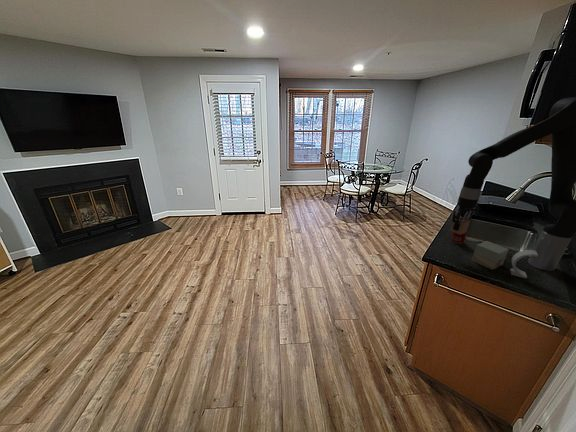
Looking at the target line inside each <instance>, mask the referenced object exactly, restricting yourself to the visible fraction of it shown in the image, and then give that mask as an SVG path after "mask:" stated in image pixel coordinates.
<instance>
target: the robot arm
mask: <svg viewBox="0 0 576 432" xmlns="http://www.w3.org/2000/svg"><path fill="white" fill-rule="evenodd" d="M549 135H550V136H551V178H550V180H551V182H550V186H551V187H550V194H549V198H548V200H549V201H548V205H547V209H548V212H549V215H551V216H553V217H555V218H557V221H556V223H553V224H552V223H548V224H544V227H543V228H542V231H541V233H540V234H539V236H538V239H537V241H536V243H535V245H534V247H533V249H532V250H535V251H536V252H537V254H538V257H535V256H528V257H529V258H528V259H527V264H529V265H530V266H532V267H534V268H536V269H539V270H543V271H547V272H554V271H555V270H556V269H557V267H558V264H559V262H560V261H561V259H562V257H563V256H564V253H565V251H566V249H567V248H568V246H569V244H570V242H571V240H572V239H573V237H574V236H575V235H576V199H574V196H573V193H574V192H573V191H574V186H575V184H576V96H573V97H565V98H562V99H560V100H559V99H558V101H556V102H555V103H554V104H553V105H552V107H550V110H549V117H548V118H546V119H543V120H542V121H540V122H537V123H536V124H533V125H531V126H529V127H525V128H523V129H521V130H517V131H516V132H514V133H512V134H509V135H508V136H506V137H504V138H503V139H501V140H499V141H497V142H495V143H494V144H492V145H489V146H487V147H485V148H483V149H480V150H478V151H476V152H475V153H473V154H472V155H471V156H470V157H469V158H468V162H467V163H468V165H469V166H470V167H471V169H470V171H469V174H467V175H466V176H465V178H464V182H463V184H462V187H461V189H460V192H459V195H458V200H457V202H456V205H457V206H458V209H457V211H456V210H454V211H453V215H452V222H455V224H454V227H453V230H456V231H458V230H459V227H460V223H461V221H462V220H464V219H466V220H470V221H471V219H472V217H473V215H474V212H475V211H476V207H477V205H478V202H479V199H480V196H481V194H482V193H481V191H482V188H483V185H484V182H485V179H486V177H487V176H488V175H489V172H490V171H491V170H492V167H493V163H494V161H495V160H497V159H500V158H501V159H502V158H505V157H508V156H510V155H512V154H514V153H515V152H517V151H519V150H521V149H523V148H525V147H527V146H529V145H531V144H533V143H535V142H536V141H539V140H541V139H543V138H545V137H547V136H549ZM460 217H462V218H460ZM459 219H460V221H459Z"/></svg>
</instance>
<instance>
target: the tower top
mask: <svg viewBox="0 0 576 432" xmlns="http://www.w3.org/2000/svg"><path fill="white" fill-rule="evenodd" d="M508 252H509V248H506V247H504V246H501V245H499V244H496V243H493V242H490V241H488V240H486V241H482V242H481V243H478V244H476V246H475V248H474V251H473V254H474V253H476V254H478V255H480V256H483V257H485V258H487V259H490V260H492V261H494V262H497V261H499V260H501V259H503V258H505V259H506V257H507V255H508Z"/></svg>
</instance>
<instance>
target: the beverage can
mask: <svg viewBox="0 0 576 432" xmlns="http://www.w3.org/2000/svg"><path fill="white" fill-rule="evenodd" d="M460 218H462V217H460ZM466 235H467V232H466V233H464V234H461V235H460V234H457V233H455V232H452V237H451V241H452V242H453V243H454V244H460V245H461V244H463V243H464V242H465V238H466Z"/></svg>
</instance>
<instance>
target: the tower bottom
mask: <svg viewBox="0 0 576 432" xmlns="http://www.w3.org/2000/svg"><path fill="white" fill-rule="evenodd" d="M470 260H471V261H472V262H474V263H477V264H479V265H481V266H483V267H485V268H488V269H490V270H495V269H497V268H499V267H501V266H503V265H504V262H505V260H506V257H505V258H503V259H501V260H499V261H497V262H494V261H492V260H490V259H487V258H485V257H483V256H480V255H478V254H476V253H474V252H473V255H472V257H471V259H470Z"/></svg>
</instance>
